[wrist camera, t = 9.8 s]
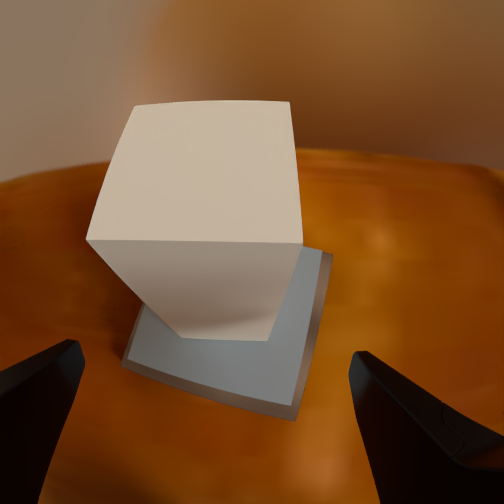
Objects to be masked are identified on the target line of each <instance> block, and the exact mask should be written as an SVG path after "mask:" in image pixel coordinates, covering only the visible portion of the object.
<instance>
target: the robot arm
mask: <svg viewBox="0 0 504 504" xmlns="http://www.w3.org/2000/svg"><path fill="white" fill-rule="evenodd" d="M84 367H85V359H84V356H83V353H82V350H81V347H80V344H79V342H78V341H77V340H71V339H66V340H64V341H62V342H60V343H58V344H56V345H54V346H52V347H50V348H48V349H46V350H44V351H42V352H40V353H38V354H36V355H34V356H32V357H29V358H27V359H25V360H23V361H21V362H19V363H17V364H15V365H13V366H11V367H9V368H7V369H5V370H3V371H1V372H0V504H37V503H38V500H39V496H40V493H41V489H42V486H43V483H44V480H45V477H46V474H47V471H48V468H49V465H50V462H51V459H52V456H53V453H54V450H55V448H56V445H57V442H58V440H59V437H60V434H61V432H62V429H63V426H64V424H65V421H66V419H67V416H68V414H69V412H70V409H71V407H72V404H73V402H74V399H75V396H76V392H77V389H78V386H79V382H80V379H81V376H82V373H83V370H84ZM349 382H350V387H351V393H352V398H353V404H354V410H355V415H356V419H357V423H358V426H359V429H360V433H361V436H362V439H363V443H364V446H365V449H366V453H367V456H368V460H369V463H370V467H371V470H372V474H373V478H374V481H375V485H376V489H377V492H378V496H379V500H380V504H504V436H502V435H500V434H498V433H496V432H494V431H492V430H491V429H489V428H487V427H485V426H483V425H481V424H479V423H477V422H475V421H473V420H471V419H470V418H468V417H466V416H464V415H462V414H461V413H459V412H458V411H456V410H454V409H453V408H451V407H450V406H448V405H447V404H445V403H442V401H441V400H439V399H438V398H436V397H435V396H433V395H432V394H430V393H429V392H427V391H426V390H424V389H423V388H421V387H420V386H418V385H417V384H415V383H414V382H412V381H411V380H409V379H408V378H406V377H405V376H403V375H402V374H400V373H399V372H397V371H396V370H394V369H393V368H391V367H390V366H388V365H387V364H386V363H384V362H383V361H381V360H380V359H378V358H377V357H375V356H374V355H372V354H371V353H369V352H368V351H356V352H355V353H354V354H353V357H352V361H351V365H350V369H349Z"/></svg>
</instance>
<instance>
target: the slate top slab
mask: <svg viewBox="0 0 504 504" xmlns="http://www.w3.org/2000/svg"><path fill="white" fill-rule="evenodd" d="M321 256H322V251H321V250H317V249H312V248H308V247H304V246H302V248H301V251H300V254H299V257H298V260H297V262H296V265H295V268H294V271H293V274H292V276H291V279H290V282H289V285H288V287H287V290H286V293H285V296H284V298H283V301H282V304H281V306H280V309H279V312H278V314H277V317H276V320H275V322H274V325H273V328H272V330H271V333H270V335H269V338H268V340H267V341H239V340H211V339H192V338H181V337H180V336H179V335H178V334H177V333H176V332H175V331H174V330H173V329H171V328H170V327H169V326H168V325H167V324H166V323H165V322H164V321H163V320H162V319H161V318H160V317H159V316H158V315H157V314H156V313H155V312H154V311H153V310H151V309H150V308H149V307H148V306H147V305H146V304H145V306H144V309H143V312H142V315H141V318H140V321H139V324H138V327H137V330H136V333H135V336H134V339H133V342H132V345H131V349H130V352H129V355H128V358H127V359H129V360H131V361H134V362H137V363H139V364H142V365H145V366H147V367H150V368H153V369H156V370H159V371H162V372H165V373H167V374H170V375H174V376H177V377H180V378H183V379H186V380H189V381H192V382H196V383H199V384H202V385H206V386H209V387H213V388H217V389H220V390H224V391H228V392H232V393H235V394H239V395H243V396H248V397H252V398H256V399H261V400H265V401H270V402H274V403H279V404H284V405H290V406H291V403H292V399H293V395H294V391H295V387H296V383H297V378H298V374H299V370H300V365H301V361H302V356H303V352H304V347H305V342H306V337H307V333H308V328H309V323H310V318H311V312H312V307H313V302H314V296H315V291H316V285H317V280H318V274H319V268H320V262H321Z"/></svg>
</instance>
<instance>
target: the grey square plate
mask: <svg viewBox="0 0 504 504" xmlns="http://www.w3.org/2000/svg"><path fill="white" fill-rule="evenodd" d="M332 258H333V254H329V253H325V252H322V256H321V262H320V268H319V274H318V280H317V285H316V291H315V296H314V302H313V307H312V312H311V318H310V323H309V328H308V333H307V337H306V342H305V347H304V352H303V356H302V361H301V365H300V370H299V374H298V378H297V383H296V387H295V391H294V395H293V399H292V403H291V406H290V405H284V404H279V403H274V402H270V401H265V400H261V399H256V398H252V397H248V396H243V395H239V394H235V393H232V392H228V391H224V390H220V389H217V388H213V387H209V386H206V385H202V384H199V383H196V382H192V381H189V380H186V379H183V378H180V377H177V376H174V375H170V374H167V373H165V372H162V371H159V370H156V369H153V368H150V367H147V366H145V365H142V364H139V363H137V362H134V361H131V360H129V359H127V358H128V355H129V352H130V349H131V345H132V342H133V339H134V336H135V333H136V330H137V327H138V324H139V321H140V318H141V315H142V312H143V309H144V306H145V303H144V302H143V303H142V306H141V308H140V311H139V314H138V316H137V319H136V322H135V324H134V327H133V330H132V333H131V336H130V338H129V341H128V344H127V347H126V350H125V353H124V356H123V359H122V362H121V365H120V366H122V367H124V368H126V369H129V370H131V371H133V372H136V373H138V374H141V375H143V376H145V377H148V378H150V379H153V380H156V381H158V382H161V383H163V384H166V385H169V386H172V387H174V388H177V389H180V390H183V391H186V392H189V393H192V394H195V395H198V396H201V397H204V398H207V399H210V400H213V401H217V402H220V403H223V404H227V405H230V406H234V407H237V408H241V409H245V410H248V411H252V412H256V413H260V414H264V415H268V416H273V417H277V418H282V419H286V420H291V421H296V417H297V414H298V410H299V406H300V403H301V399H302V395H303V392H304V388H305V384H306V380H307V376H308V372H309V368H310V364H311V360H312V356H313V352H314V347H315V343H316V339H317V334H318V330H319V325H320V320H321V316H322V311H323V306H324V301H325V296H326V291H327V286H328V281H329V275H330V270H331V264H332Z"/></svg>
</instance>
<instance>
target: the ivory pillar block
mask: <svg viewBox="0 0 504 504" xmlns="http://www.w3.org/2000/svg"><path fill="white" fill-rule="evenodd" d="M86 241H87V242H88V243H89V244H90V245H91V246H92V248H93V249H94V250H95V251H96V252H97V253H98V254H99V255H100V257H101V258H102V259H103V260H104V261H105V262H106V263H107V264H108V265H109V266H110V267H111V269H112V270H113V271H114V272H115V273H116V274H117V275H118V276H119V277H120V278H121V279H122V280H123V281H124V282H125V283H126V284H127V285H128V286H129V287H130V289H131V290H132V291H133V292H134V293H135V294H136V295H137V296H138V297H139V298H140V299H141V300H142V301H143V302H144V303H145V304H146V305H147V306H148V307H149V308H150V309H151V310H153V311H154V312H155V313H156V314H157V315H158V316H159V317H160V318H161V319H162V320H163V321H164V322H165V323H166V324H167V325H168V326H169V327H170V328H171V329H173V330H174V331H175V332H176V333H177V334H178V335H179V336H180V337H181V338H192V339H211V340H239V341H267V340H268V338H269V335H270V333H271V330H272V328H273V325H274V322H275V320H276V317H277V314H278V312H279V309H280V306H281V304H282V301H283V298H284V296H285V293H286V290H287V287H288V285H289V282H290V279H291V276H292V274H293V271H294V268H295V265H296V262H297V260H298V257H299V254H300V251H301V248H302V245H303V233H302V220H301V208H300V196H299V185H298V175H297V165H296V155H295V146H294V137H293V128H292V120H291V112H290V104H289V102H276V101H244V100H241V101H240V100H239V101H237V100H236V101H235V100H232V101H231V100H229V101H228V100H223V101H190V102H175V103H161V104H151V105H140V106H135V107H134V109H133V111H132V113H131V115H130V117H129V120H128V122H127V124H126V126H125V129H124V131H123V133H122V136H121V138H120V140H119V143H118V145H117V148H116V150H115V153H114V155H113V158H112V160H111V163H110V166H109V168H108V171H107V174H106V177H105V179H104V182H103V185H102V188H101V191H100V194H99V197H98V200H97V203H96V206H95V209H94V212H93V216H92V219H91V222H90V226H89V229H88V233H87V236H86Z"/></svg>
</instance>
